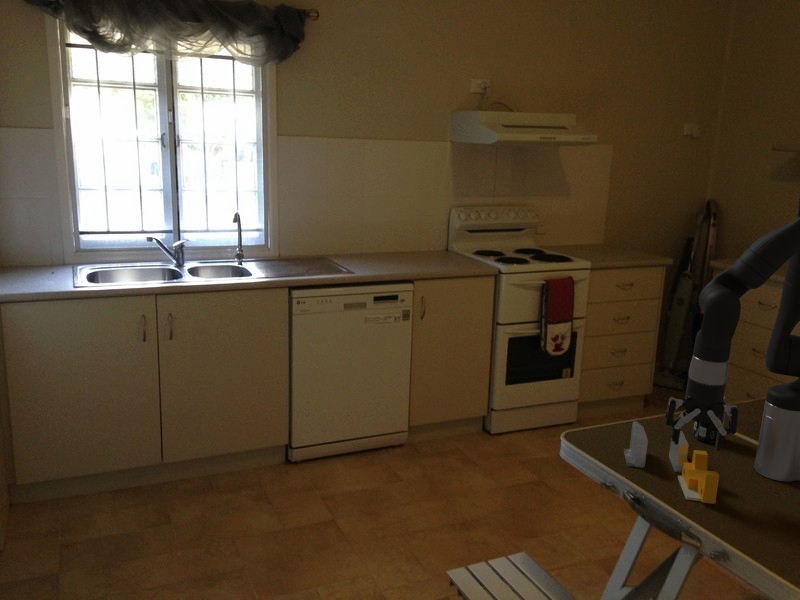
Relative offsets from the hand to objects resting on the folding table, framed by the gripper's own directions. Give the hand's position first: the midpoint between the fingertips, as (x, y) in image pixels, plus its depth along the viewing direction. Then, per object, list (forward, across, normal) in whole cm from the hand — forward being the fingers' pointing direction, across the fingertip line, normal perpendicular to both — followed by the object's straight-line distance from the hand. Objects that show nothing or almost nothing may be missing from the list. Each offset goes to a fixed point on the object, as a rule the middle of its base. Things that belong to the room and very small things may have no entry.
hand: (696, 446), depth 158 cm
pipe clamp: (+9, +1, -2) cm, 10 cm away
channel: (+10, -6, +11) cm, 16 cm away
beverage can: (+11, +8, +29) cm, 31 cm away
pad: (+10, +1, -2) cm, 10 cm away
